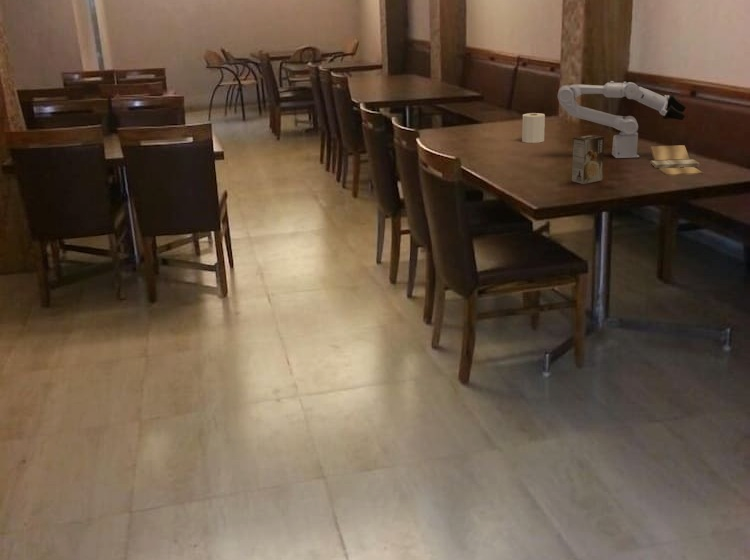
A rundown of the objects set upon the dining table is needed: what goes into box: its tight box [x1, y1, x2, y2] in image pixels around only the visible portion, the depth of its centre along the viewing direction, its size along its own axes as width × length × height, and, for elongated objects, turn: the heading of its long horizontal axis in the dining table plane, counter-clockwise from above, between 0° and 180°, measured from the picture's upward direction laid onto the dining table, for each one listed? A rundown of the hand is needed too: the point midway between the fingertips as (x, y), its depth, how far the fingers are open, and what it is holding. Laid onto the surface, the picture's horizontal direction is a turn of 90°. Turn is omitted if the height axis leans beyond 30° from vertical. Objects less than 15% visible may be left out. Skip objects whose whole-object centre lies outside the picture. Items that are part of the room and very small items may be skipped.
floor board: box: [650, 158, 700, 169], centre depth 294 cm, size 16×8×2 cm, turn 86°
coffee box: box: [571, 134, 605, 185], centre depth 275 cm, size 9×6×16 cm
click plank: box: [650, 144, 690, 160], centre depth 301 cm, size 13×9×1 cm
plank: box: [658, 167, 704, 177], centre depth 284 cm, size 13×9×1 cm
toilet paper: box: [521, 112, 546, 144], centre depth 351 cm, size 10×10×12 cm
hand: (684, 113), depth 302 cm, fingers open, 7 cm apart
